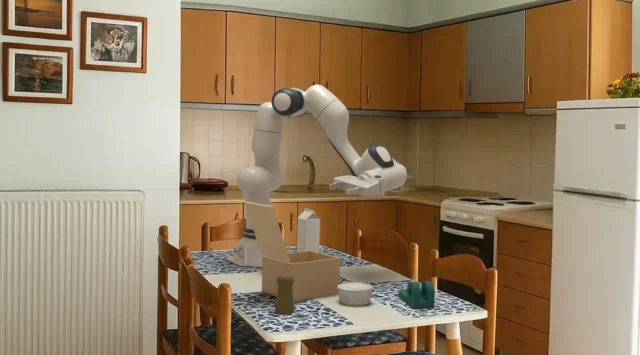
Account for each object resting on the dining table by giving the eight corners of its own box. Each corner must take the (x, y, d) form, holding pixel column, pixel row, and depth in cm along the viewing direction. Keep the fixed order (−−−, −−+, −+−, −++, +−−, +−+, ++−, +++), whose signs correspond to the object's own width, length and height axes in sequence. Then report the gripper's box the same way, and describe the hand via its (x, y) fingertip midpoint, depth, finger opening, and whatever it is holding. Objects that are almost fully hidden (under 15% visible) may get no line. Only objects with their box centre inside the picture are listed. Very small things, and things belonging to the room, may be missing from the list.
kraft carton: (261, 292, 235) (262, 256, 234) (309, 284, 247) (310, 250, 246) (290, 302, 222) (291, 264, 222) (339, 293, 235) (340, 257, 234)
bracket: (434, 309, 219) (435, 284, 218) (412, 309, 218) (413, 284, 217) (415, 295, 237) (416, 271, 236) (396, 295, 235) (397, 272, 235)
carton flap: (262, 254, 234) (261, 255, 233) (245, 201, 228) (244, 202, 228) (290, 262, 222) (289, 263, 222) (273, 206, 216) (271, 207, 216)
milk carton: (305, 254, 305) (306, 210, 304) (296, 251, 311) (297, 208, 310) (319, 253, 309) (320, 209, 308) (310, 250, 315) (311, 207, 314)
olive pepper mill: (299, 311, 211) (299, 275, 210) (283, 315, 207) (284, 277, 206) (285, 307, 215) (286, 271, 215) (270, 311, 211) (270, 274, 210)
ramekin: (334, 305, 220) (335, 289, 219) (338, 297, 231) (339, 281, 230) (371, 308, 218) (371, 291, 218) (373, 299, 229) (374, 283, 229)
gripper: (351, 169, 264) (320, 176, 257) (386, 178, 248) (355, 186, 240) (352, 186, 266) (321, 193, 258) (387, 196, 249) (356, 204, 242)
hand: (338, 189), depth 249 cm, fingers open, 8 cm apart
